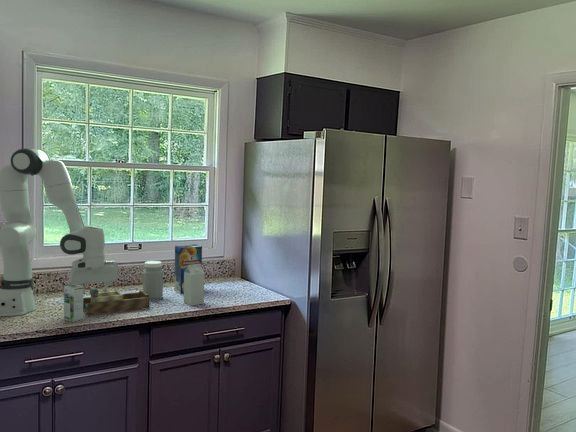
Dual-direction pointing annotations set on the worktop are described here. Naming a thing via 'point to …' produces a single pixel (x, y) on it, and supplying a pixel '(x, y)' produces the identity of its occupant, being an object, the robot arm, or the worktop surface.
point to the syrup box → (73, 302)
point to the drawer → (104, 295)
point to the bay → (117, 304)
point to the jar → (153, 279)
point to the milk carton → (194, 285)
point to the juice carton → (185, 263)
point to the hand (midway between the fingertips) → (93, 292)
